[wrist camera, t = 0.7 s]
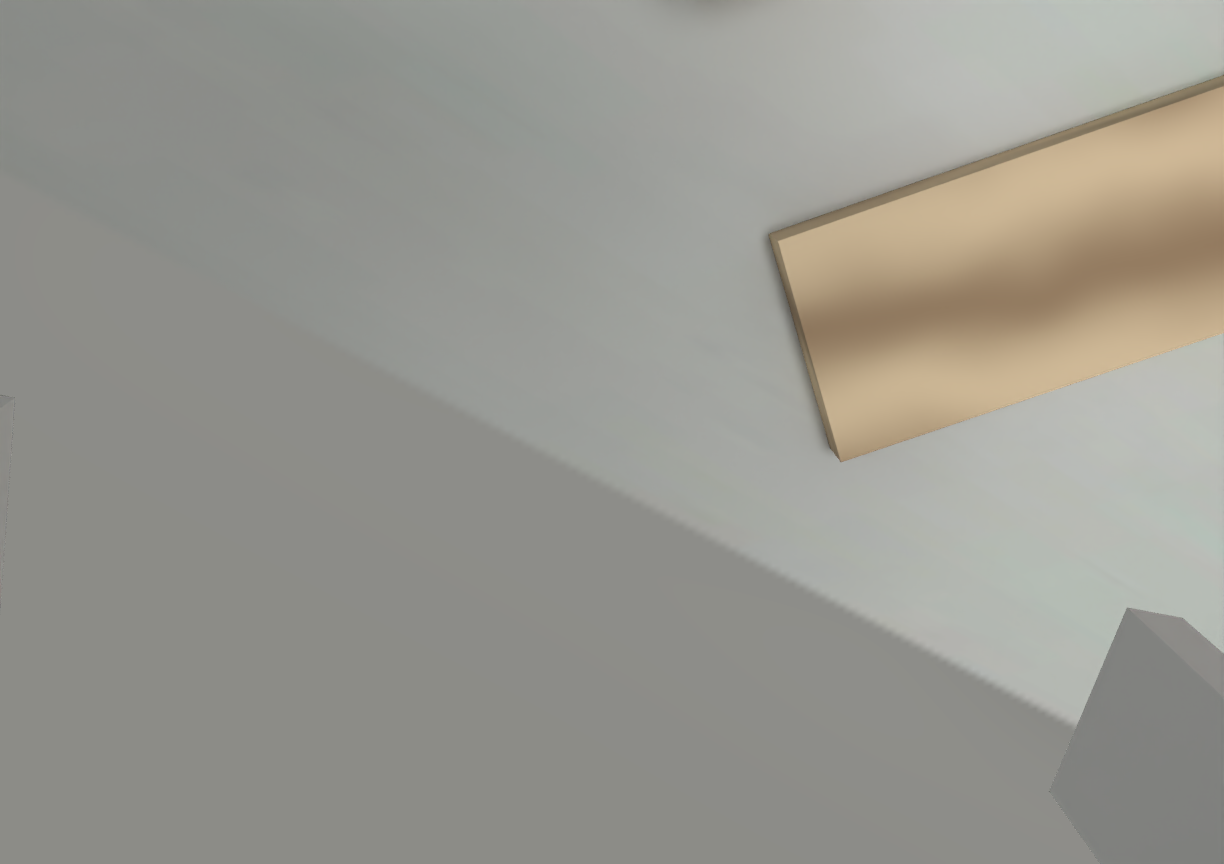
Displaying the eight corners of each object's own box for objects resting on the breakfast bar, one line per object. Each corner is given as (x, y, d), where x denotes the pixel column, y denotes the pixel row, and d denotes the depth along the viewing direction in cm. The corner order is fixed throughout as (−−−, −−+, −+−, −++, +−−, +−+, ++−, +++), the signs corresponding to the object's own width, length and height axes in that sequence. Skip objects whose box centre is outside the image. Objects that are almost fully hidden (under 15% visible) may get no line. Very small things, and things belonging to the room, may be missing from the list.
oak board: (765, 231, 37) (778, 241, 35) (1345, 29, 36) (1389, 28, 34) (826, 442, 40) (841, 462, 38) (1368, 258, 39) (1411, 269, 37)
